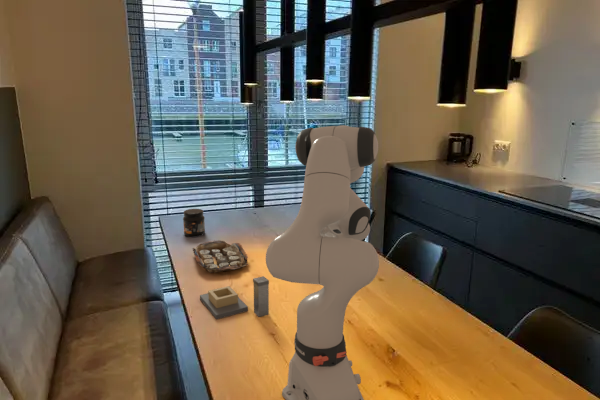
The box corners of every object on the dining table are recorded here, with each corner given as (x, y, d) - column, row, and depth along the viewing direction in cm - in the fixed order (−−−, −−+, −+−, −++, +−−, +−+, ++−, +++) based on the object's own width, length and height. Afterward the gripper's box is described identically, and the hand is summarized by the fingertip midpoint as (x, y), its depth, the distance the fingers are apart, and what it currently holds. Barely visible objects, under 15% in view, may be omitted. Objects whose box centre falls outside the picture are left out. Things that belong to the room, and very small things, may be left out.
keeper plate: (247, 310, 144) (247, 298, 143) (216, 319, 138) (215, 306, 137) (229, 291, 157) (229, 280, 156) (199, 299, 152) (199, 287, 151)
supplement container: (180, 233, 220) (178, 210, 217) (198, 229, 227) (197, 207, 224) (190, 238, 212) (189, 215, 210) (209, 234, 219) (208, 211, 216)
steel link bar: (269, 314, 142) (268, 280, 139) (258, 317, 140) (258, 283, 137) (263, 309, 145) (263, 276, 142) (253, 312, 143) (253, 278, 140)
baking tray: (257, 272, 176) (257, 259, 174) (204, 281, 166) (203, 268, 165) (234, 248, 202) (234, 237, 200) (187, 255, 192) (186, 243, 191)
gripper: (312, 218, 158) (278, 224, 151) (346, 235, 141) (310, 242, 134) (311, 235, 160) (278, 241, 153) (345, 253, 143) (309, 261, 136)
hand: (293, 242), depth 143 cm, fingers open, 8 cm apart
